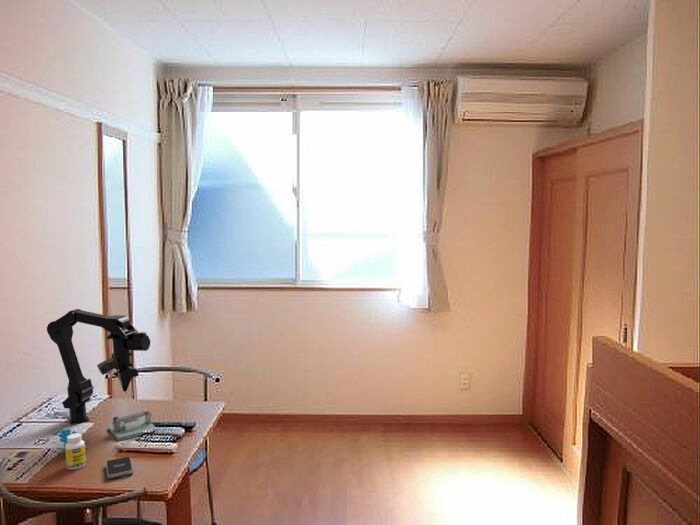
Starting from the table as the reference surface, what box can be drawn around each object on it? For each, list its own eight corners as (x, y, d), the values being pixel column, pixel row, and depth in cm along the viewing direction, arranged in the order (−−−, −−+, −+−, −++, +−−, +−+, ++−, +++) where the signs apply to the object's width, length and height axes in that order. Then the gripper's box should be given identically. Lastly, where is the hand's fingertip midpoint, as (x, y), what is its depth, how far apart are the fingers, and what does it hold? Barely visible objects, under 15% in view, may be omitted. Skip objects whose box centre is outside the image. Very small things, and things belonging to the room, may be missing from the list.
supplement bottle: (73, 471, 168) (70, 440, 167) (63, 467, 170) (60, 437, 169) (89, 464, 172) (87, 434, 171) (79, 460, 175) (77, 430, 174)
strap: (117, 422, 194) (117, 418, 194) (116, 420, 196) (115, 416, 196) (149, 414, 200) (149, 410, 200) (147, 412, 202) (147, 408, 202)
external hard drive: (107, 482, 161) (107, 475, 161) (106, 466, 171) (106, 460, 171) (133, 476, 164) (132, 470, 164) (130, 461, 174) (130, 455, 174)
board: (108, 428, 200) (108, 425, 200) (145, 419, 208) (144, 416, 208) (118, 441, 189) (118, 437, 189) (156, 431, 197) (156, 427, 196)
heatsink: (121, 426, 199) (120, 419, 199) (135, 422, 202) (135, 415, 202) (125, 431, 194) (125, 423, 194) (140, 427, 197) (139, 420, 197)
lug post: (145, 425, 203) (144, 410, 202) (148, 424, 203) (147, 409, 203) (148, 428, 199) (147, 413, 199) (152, 427, 200) (151, 412, 199)
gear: (78, 453, 176) (56, 432, 176) (65, 467, 176) (43, 445, 176) (94, 443, 187) (74, 423, 188) (82, 456, 187) (62, 436, 187)
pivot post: (112, 432, 196) (111, 417, 196) (118, 431, 198) (117, 416, 197) (115, 436, 193) (114, 421, 192) (121, 434, 194) (120, 419, 194)
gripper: (92, 349, 206) (96, 390, 207) (104, 359, 191) (107, 403, 192) (123, 344, 212) (126, 383, 214) (137, 353, 197) (140, 395, 199)
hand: (124, 391), depth 205 cm, fingers closed
